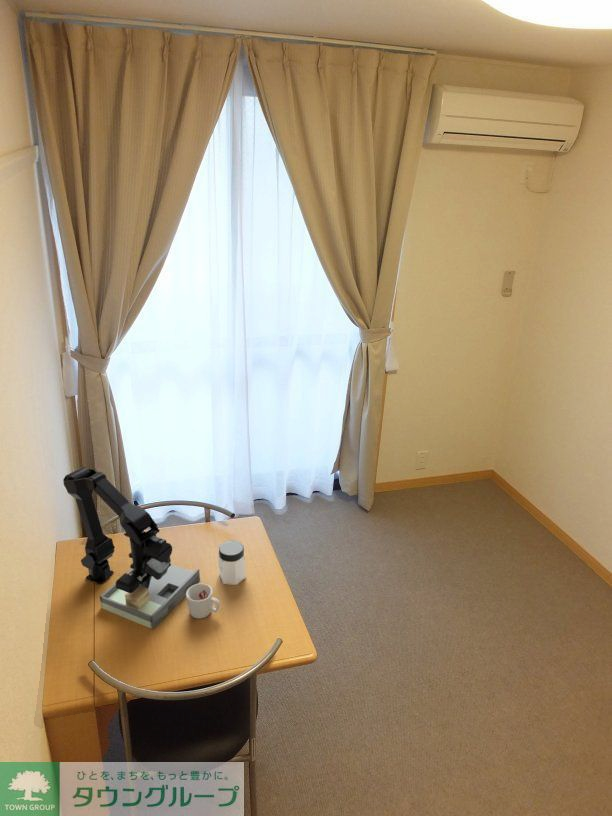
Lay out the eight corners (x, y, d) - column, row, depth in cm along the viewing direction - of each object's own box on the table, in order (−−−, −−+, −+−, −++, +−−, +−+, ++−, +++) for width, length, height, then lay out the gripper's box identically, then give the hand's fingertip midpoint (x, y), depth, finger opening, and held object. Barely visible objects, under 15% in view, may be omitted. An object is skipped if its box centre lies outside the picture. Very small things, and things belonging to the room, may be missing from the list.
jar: (217, 571, 186) (215, 542, 181) (240, 565, 189) (239, 537, 184) (224, 588, 179) (222, 558, 174) (247, 582, 181) (247, 552, 177)
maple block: (126, 604, 167) (124, 594, 166) (137, 594, 172) (135, 584, 170) (139, 609, 166) (137, 599, 164) (149, 599, 170) (148, 588, 168)
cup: (226, 609, 170) (225, 589, 167) (214, 627, 163) (212, 606, 160) (195, 600, 173) (194, 580, 170) (182, 617, 166) (180, 597, 163)
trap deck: (101, 608, 169) (99, 596, 167) (151, 562, 189) (150, 552, 188) (153, 629, 162) (151, 617, 160) (199, 579, 182) (199, 569, 180)
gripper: (142, 576, 155) (147, 618, 161) (181, 539, 171) (184, 579, 177) (111, 565, 159) (117, 606, 165) (152, 530, 175) (157, 569, 181)
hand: (146, 590), depth 172 cm, fingers closed
